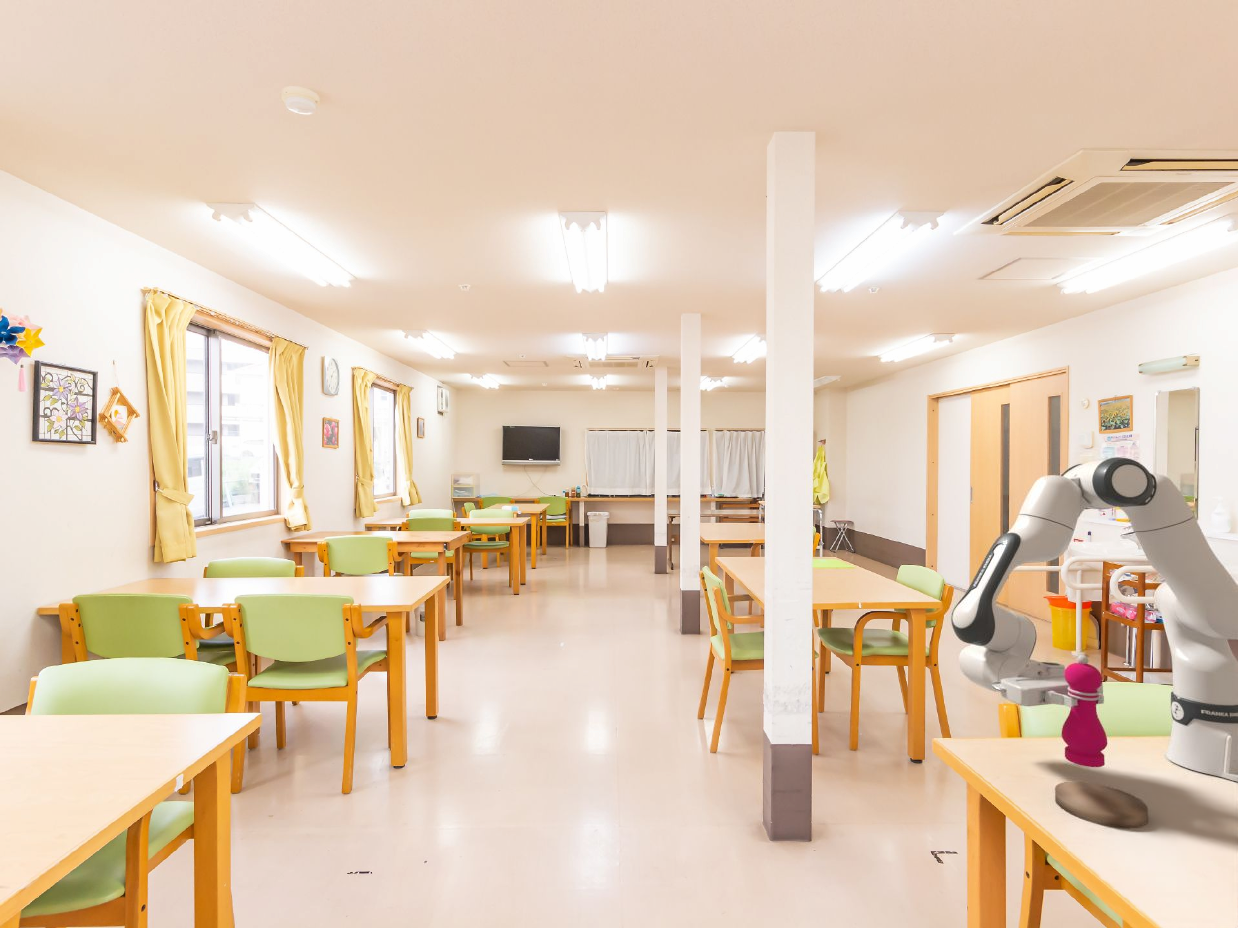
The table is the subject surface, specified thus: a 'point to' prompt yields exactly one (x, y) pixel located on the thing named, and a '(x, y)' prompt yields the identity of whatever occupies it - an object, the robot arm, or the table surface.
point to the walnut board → (1101, 804)
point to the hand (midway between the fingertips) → (1088, 701)
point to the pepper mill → (1084, 716)
